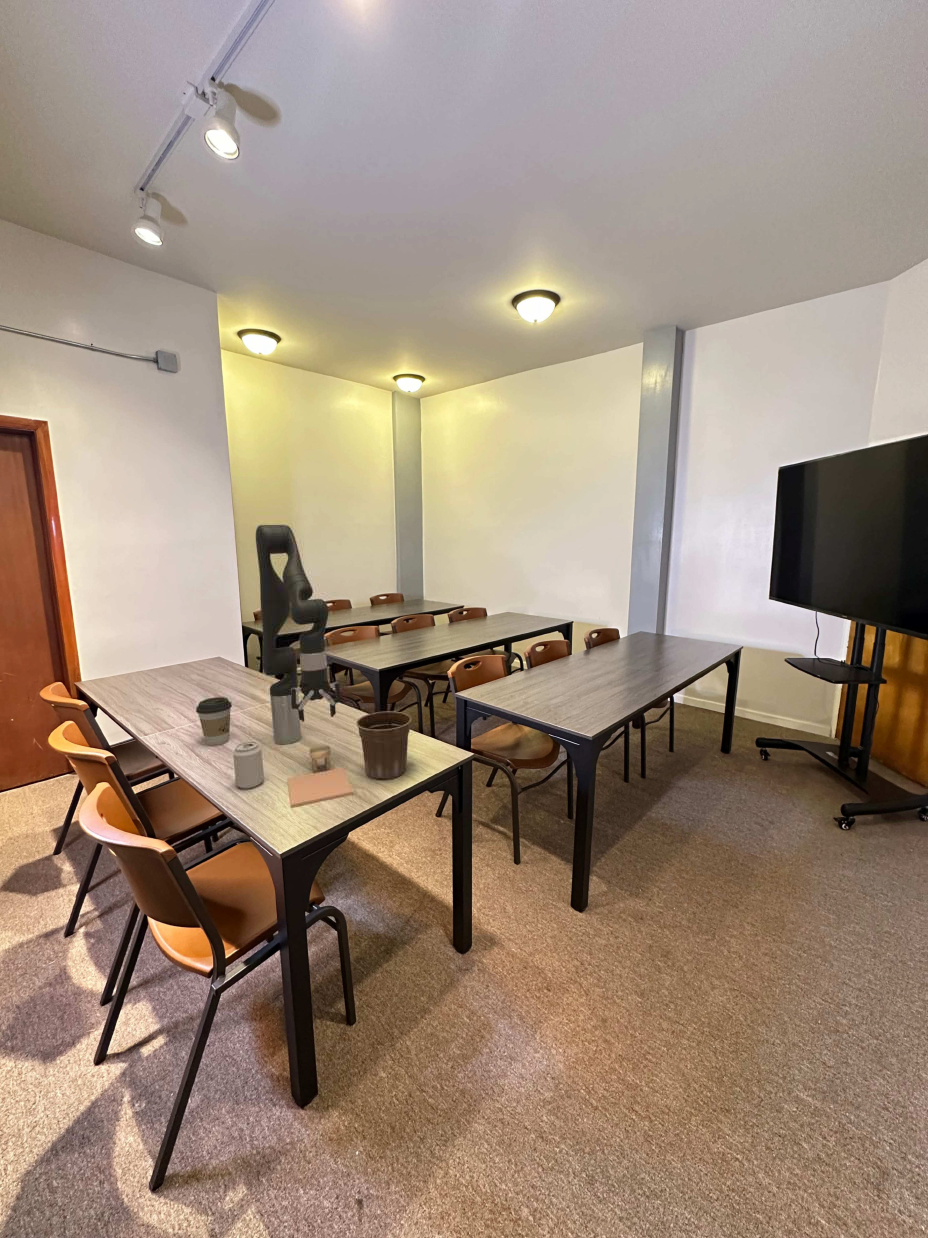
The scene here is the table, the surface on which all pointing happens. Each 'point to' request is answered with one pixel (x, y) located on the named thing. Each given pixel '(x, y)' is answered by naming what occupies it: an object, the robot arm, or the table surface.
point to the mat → (318, 787)
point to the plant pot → (384, 743)
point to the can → (248, 764)
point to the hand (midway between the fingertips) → (317, 718)
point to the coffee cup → (215, 720)
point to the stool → (320, 756)
